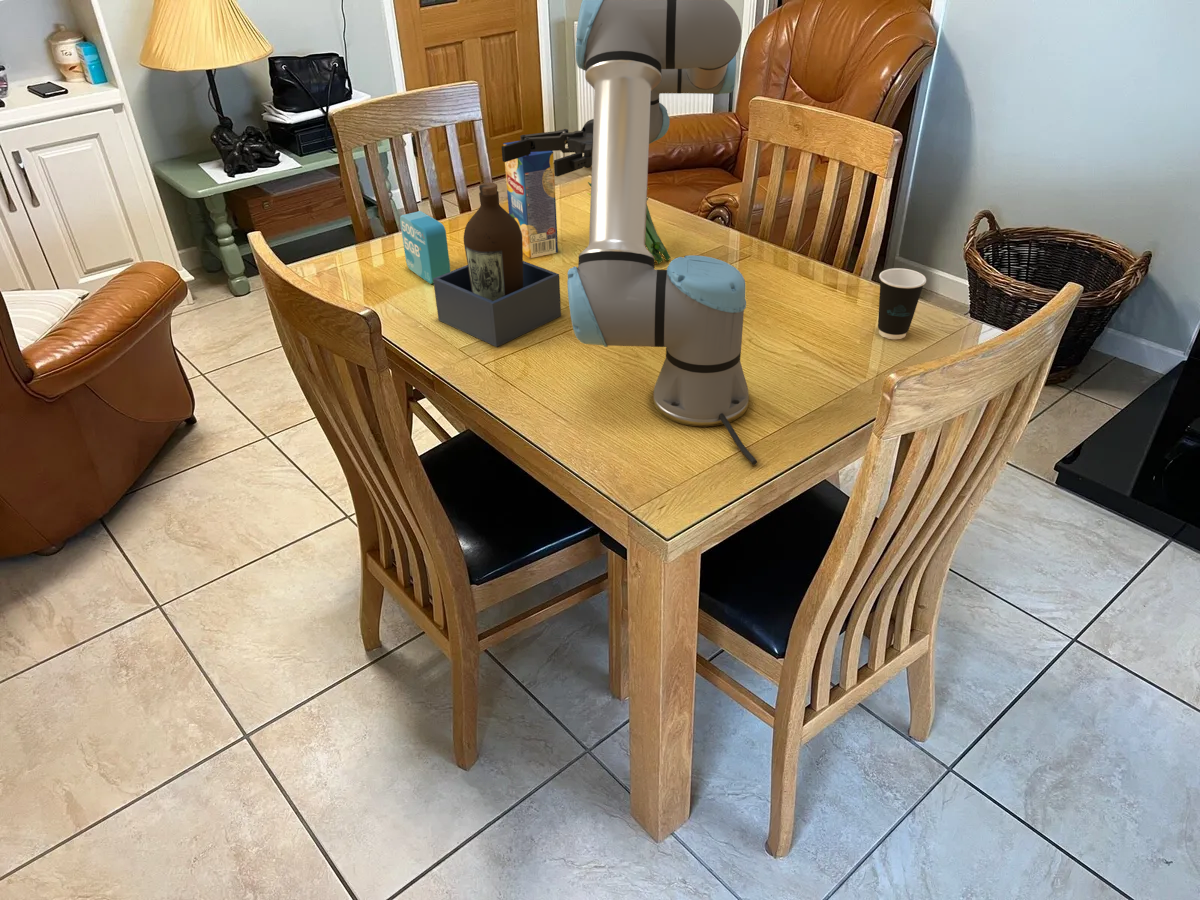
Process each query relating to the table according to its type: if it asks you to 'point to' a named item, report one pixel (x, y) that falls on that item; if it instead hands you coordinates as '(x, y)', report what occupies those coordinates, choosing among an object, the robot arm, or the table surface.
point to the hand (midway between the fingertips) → (528, 161)
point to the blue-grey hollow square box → (498, 305)
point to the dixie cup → (898, 301)
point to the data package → (425, 245)
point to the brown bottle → (493, 248)
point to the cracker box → (533, 201)
